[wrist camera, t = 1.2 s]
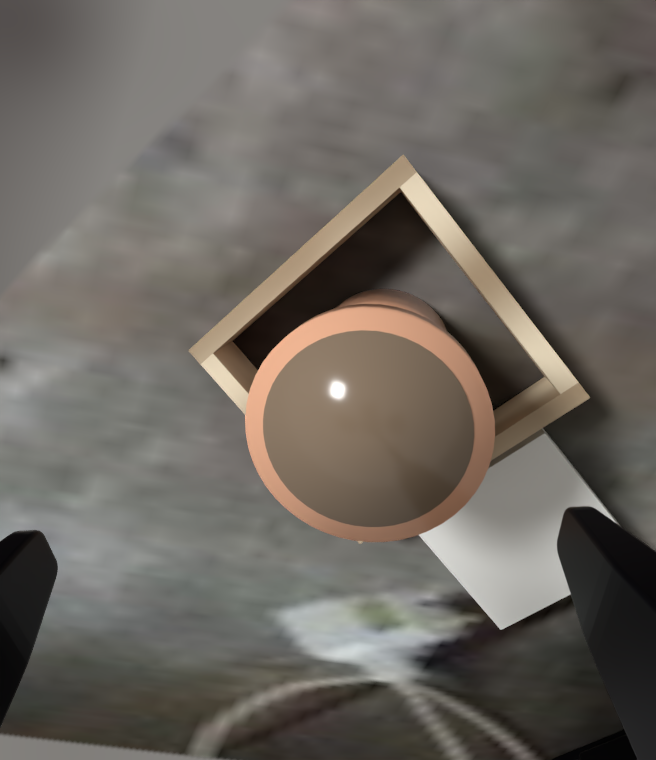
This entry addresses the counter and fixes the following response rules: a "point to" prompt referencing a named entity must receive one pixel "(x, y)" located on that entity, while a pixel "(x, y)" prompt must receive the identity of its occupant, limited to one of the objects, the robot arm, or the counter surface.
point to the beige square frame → (559, 383)
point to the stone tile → (514, 530)
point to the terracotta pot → (371, 420)
